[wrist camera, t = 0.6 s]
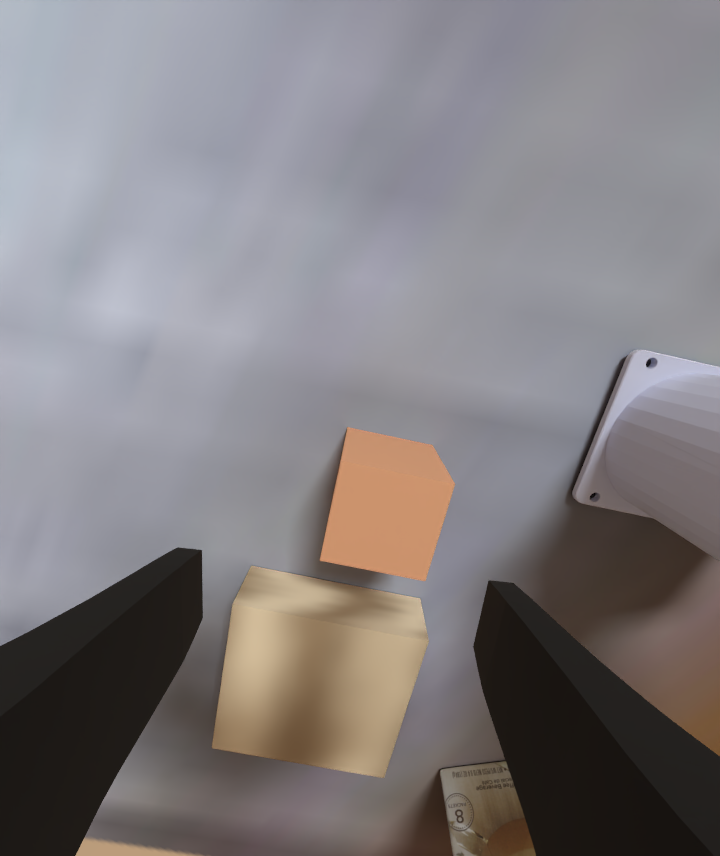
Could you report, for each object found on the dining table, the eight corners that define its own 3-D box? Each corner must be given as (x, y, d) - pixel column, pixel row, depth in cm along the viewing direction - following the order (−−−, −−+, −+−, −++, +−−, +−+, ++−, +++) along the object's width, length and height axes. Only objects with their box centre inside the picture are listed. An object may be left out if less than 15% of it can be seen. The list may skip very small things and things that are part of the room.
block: (432, 444, 19) (455, 484, 14) (410, 520, 20) (425, 581, 15) (347, 426, 19) (340, 460, 14) (331, 504, 20) (319, 560, 15)
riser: (420, 598, 21) (428, 641, 18) (381, 723, 24) (383, 777, 21) (251, 565, 21) (232, 603, 18) (230, 696, 23) (211, 748, 20)
